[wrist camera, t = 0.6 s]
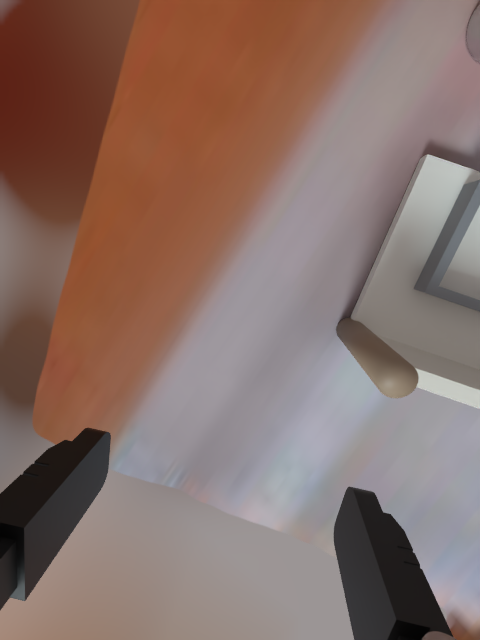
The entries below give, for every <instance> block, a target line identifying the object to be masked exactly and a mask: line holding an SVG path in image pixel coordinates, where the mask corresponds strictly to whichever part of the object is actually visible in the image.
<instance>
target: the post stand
mask: <svg viewBox="0 0 480 640" xmlns="http://www.w3.org/2000/svg"><path fill="white" fill-rule="evenodd" d="M336 331H337V335H338V337H339V338H340V339H341V341H342V342H343V343H344V345H345V346H346V347H347V349H348V350H349V351H350V352H351V354H352V355H353V356H354V358H355V359H356V360H357V362H358V363H359V364H360V366H361V367H362V368H363V370H364V371H365V372H366V373H367V375H368V376H369V377H370V379H371V380H372V381H373V383H374V384H375V385H376V387H377V388H378V389H379V391H380V392H381V393H382V394H384V395H385V396H387V397H390V398H402V397H405V396H407V395H409V394H410V393H412V392H413V391H414V389H415V388H416V387H418V388H420V389H423V390H426V391H429V392H432V393H435V394H438V395H441V396H444V397H447V398H449V399H452V400H455V401H458V402H461V403H464V404H467V405H470V406H473V407H475V408H478V409H480V172H479V171H476V170H473V169H470V168H467V167H464V166H461V165H458V164H456V163H453V162H450V161H447V160H444V159H441V158H438V157H435V156H432V155H429V154H427V155H425V156H424V157H422V158H420V160H419V163H418V165H417V167H416V169H415V172H414V174H413V176H412V178H411V181H410V183H409V185H408V188H407V190H406V192H405V194H404V197H403V199H402V201H401V203H400V206H399V208H398V210H397V212H396V215H395V217H394V219H393V222H392V224H391V226H390V228H389V231H388V233H387V235H386V237H385V240H384V242H383V244H382V246H381V249H380V251H379V253H378V256H377V258H376V260H375V262H374V265H373V267H372V269H371V271H370V274H369V276H368V278H367V280H366V283H365V285H364V287H363V290H362V292H361V294H360V296H359V299H358V301H357V303H356V305H355V308H354V310H353V312H352V314H351V317H349V318H345V319H343V320H341V321H340V322H339V324H338V325H337V329H336Z"/></svg>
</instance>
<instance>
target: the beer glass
mask: <svg viewBox="0 0 480 640" xmlns="http://www.w3.org/2000/svg"><path fill="white" fill-rule="evenodd" d="M466 42H467V47H468V50H469V52H470V54H471V56H472V57H473V58H474V59H475V60H476V61H477V62H478V63H480V4H479V5H478V6H477V8H476V9H475V11H474V13H473V14H472V16H471V18H470V21H469V24H468V27H467V33H466Z"/></svg>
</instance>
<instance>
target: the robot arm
mask: <svg viewBox="0 0 480 640" xmlns="http://www.w3.org/2000/svg"><path fill="white" fill-rule="evenodd" d="M110 440H111V435H110V433H109V432H105V431H101V430H96V429H92V428H86V429H84V430H83V431H82V432H81V433H80V434H79V435H78V436H77V437H76V438H75V439H74V440H73V441H68V440H64V441H62V442H60V443H59V444H57V445H55V446H53V447H51V448H49V449H48V450H46V451H45V452H44V453H43V454H42V455H41V456H40V457H39V458H38V459H37V460H36V461H35V463H34V464H32V465H31V466H29V468H27V469H26V470H25V471H24V473H23V475H20V476H19V477H18V478H17V479H16V480H14V482H12V484H10V485H9V486H8V487H7V488H6V489H5V490H4V491H3V492H2V493H1V494H0V610H1V609H2V607H3V606H4V604H5V603H6V602H7V600H8V599H9V598H14V599H18V600H22V601H25V600H26V599H27V597H28V596H29V595H30V593H31V592H32V590H33V589H34V587H35V586H36V584H37V583H38V581H39V580H40V578H41V577H42V575H43V574H44V572H45V571H46V570H47V568H48V567H49V565H50V564H51V562H52V560H53V559H54V557H55V556H56V555H57V553H58V552H59V550H60V549H61V548H62V546H63V544H64V543H65V541H66V540H67V539H68V537H69V536H70V534H71V533H72V531H73V530H74V528H75V527H76V525H77V524H78V523H79V521H80V520H81V518H82V517H83V515H84V514H85V512H86V511H87V509H88V508H89V506H90V505H91V503H92V502H93V500H94V499H95V497H96V496H97V495H98V493H99V492H100V490H101V488H102V487H103V484H104V482H105V480H106V477H107V473H108V465H109V453H110ZM334 545H335V550H336V555H337V560H338V564H339V569H340V574H341V579H342V583H343V588H344V593H345V598H346V602H347V607H348V612H349V617H350V621H351V626H352V631H353V635H354V640H456V639H455V638H454V637H453V635H452V633H451V631H450V629H449V627H448V625H447V622H446V620H445V618H444V616H443V614H442V612H441V610H440V607H439V605H438V603H437V601H436V599H435V596H434V594H433V592H432V590H431V588H430V586H429V583H428V581H427V579H426V577H425V575H424V573H423V570H422V569H420V564H419V562H418V560H417V557H416V555H415V553H413V549H412V547H411V544H410V542H409V540H408V538H407V536H406V534H405V531H404V530H403V529H402V528H401V526H400V525H399V524H398V523H397V522H396V520H395V519H394V518H393V517H392V515H391V514H387V513H383V511H382V509H381V507H380V504H379V502H378V499H377V497H376V495H375V493H374V492H371V491H367V490H362V489H358V488H353V487H348V488H347V490H346V492H345V495H344V498H343V501H342V504H341V507H340V510H339V513H338V516H337V519H336V522H335V526H334Z"/></svg>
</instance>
